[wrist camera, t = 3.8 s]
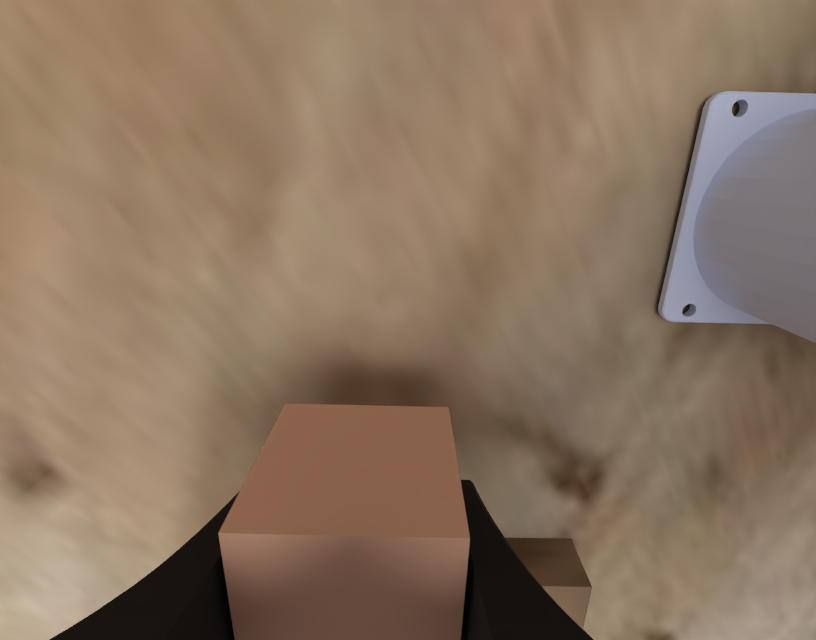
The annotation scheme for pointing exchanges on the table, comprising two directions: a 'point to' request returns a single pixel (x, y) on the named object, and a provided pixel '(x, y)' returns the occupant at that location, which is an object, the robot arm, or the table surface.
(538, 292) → the table surface
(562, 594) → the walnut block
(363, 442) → the terracotta cube
